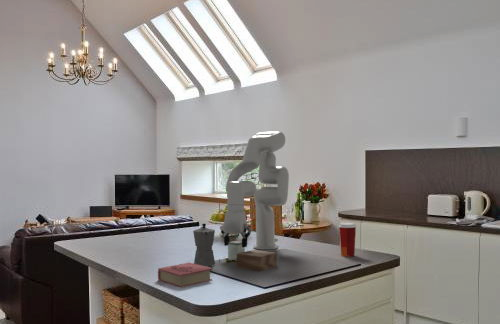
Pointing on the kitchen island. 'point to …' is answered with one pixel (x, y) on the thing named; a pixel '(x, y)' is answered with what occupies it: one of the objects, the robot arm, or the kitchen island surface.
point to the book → (184, 274)
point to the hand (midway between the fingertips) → (235, 246)
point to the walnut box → (256, 260)
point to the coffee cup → (347, 239)
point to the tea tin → (235, 249)
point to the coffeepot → (204, 246)
